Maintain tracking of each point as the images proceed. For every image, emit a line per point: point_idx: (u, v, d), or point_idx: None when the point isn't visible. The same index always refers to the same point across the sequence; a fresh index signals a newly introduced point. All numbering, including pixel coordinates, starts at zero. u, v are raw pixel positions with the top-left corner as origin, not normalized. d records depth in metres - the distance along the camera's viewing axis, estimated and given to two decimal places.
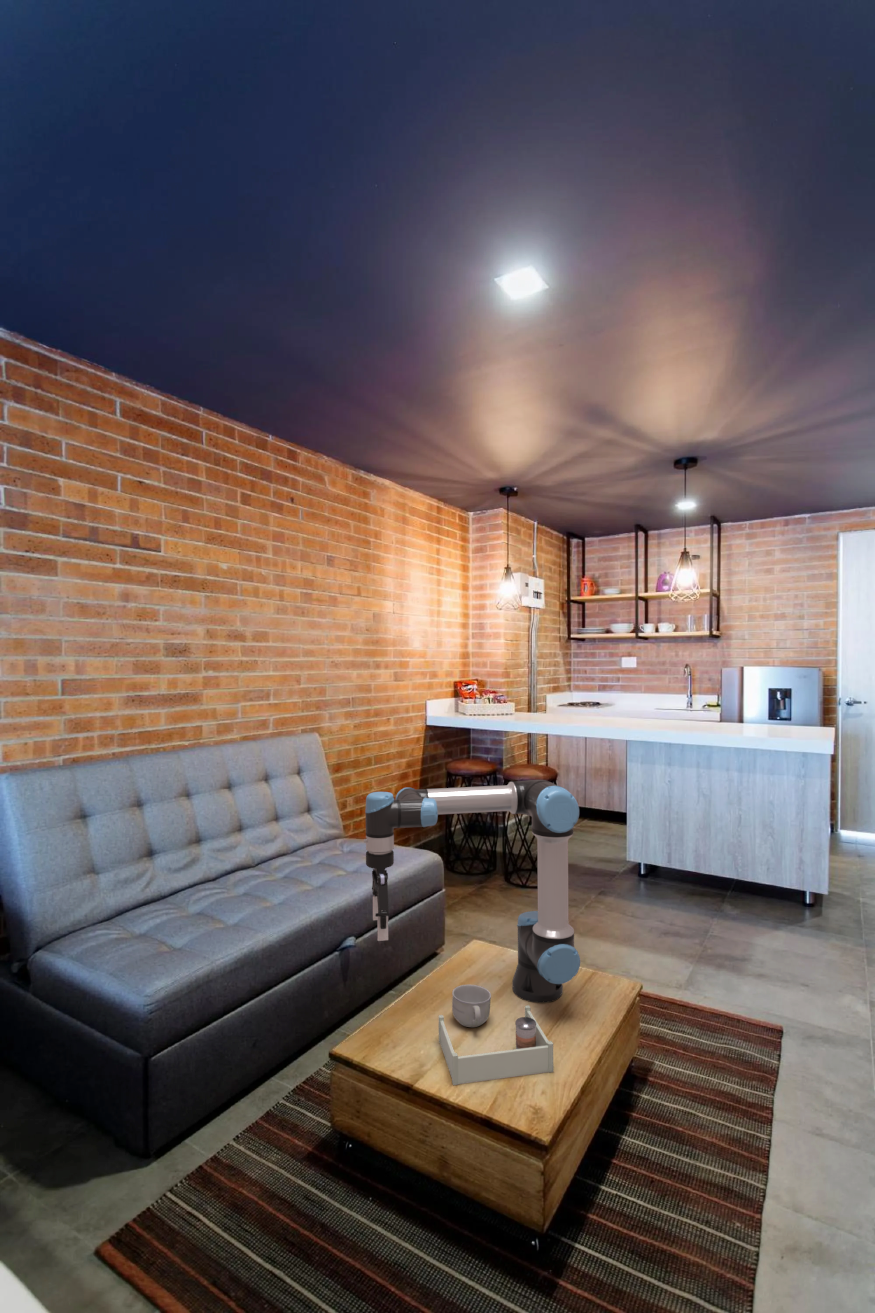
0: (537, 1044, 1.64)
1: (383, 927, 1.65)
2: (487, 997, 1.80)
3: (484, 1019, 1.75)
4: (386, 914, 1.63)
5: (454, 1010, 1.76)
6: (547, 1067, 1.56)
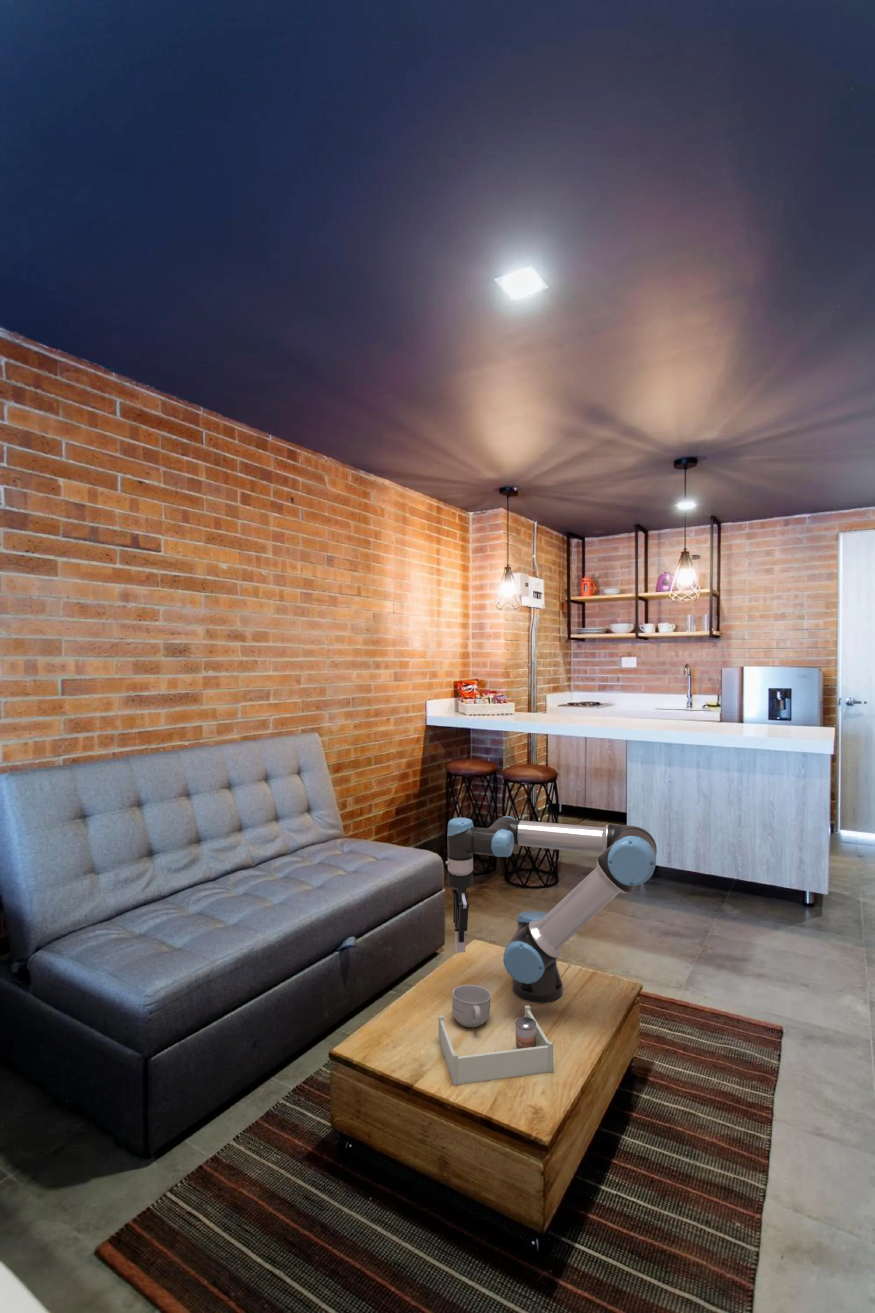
0: (537, 1044, 1.64)
1: (461, 941, 1.88)
2: (487, 997, 1.80)
3: (484, 1019, 1.75)
4: (465, 930, 1.86)
5: (454, 1010, 1.76)
6: (547, 1067, 1.56)
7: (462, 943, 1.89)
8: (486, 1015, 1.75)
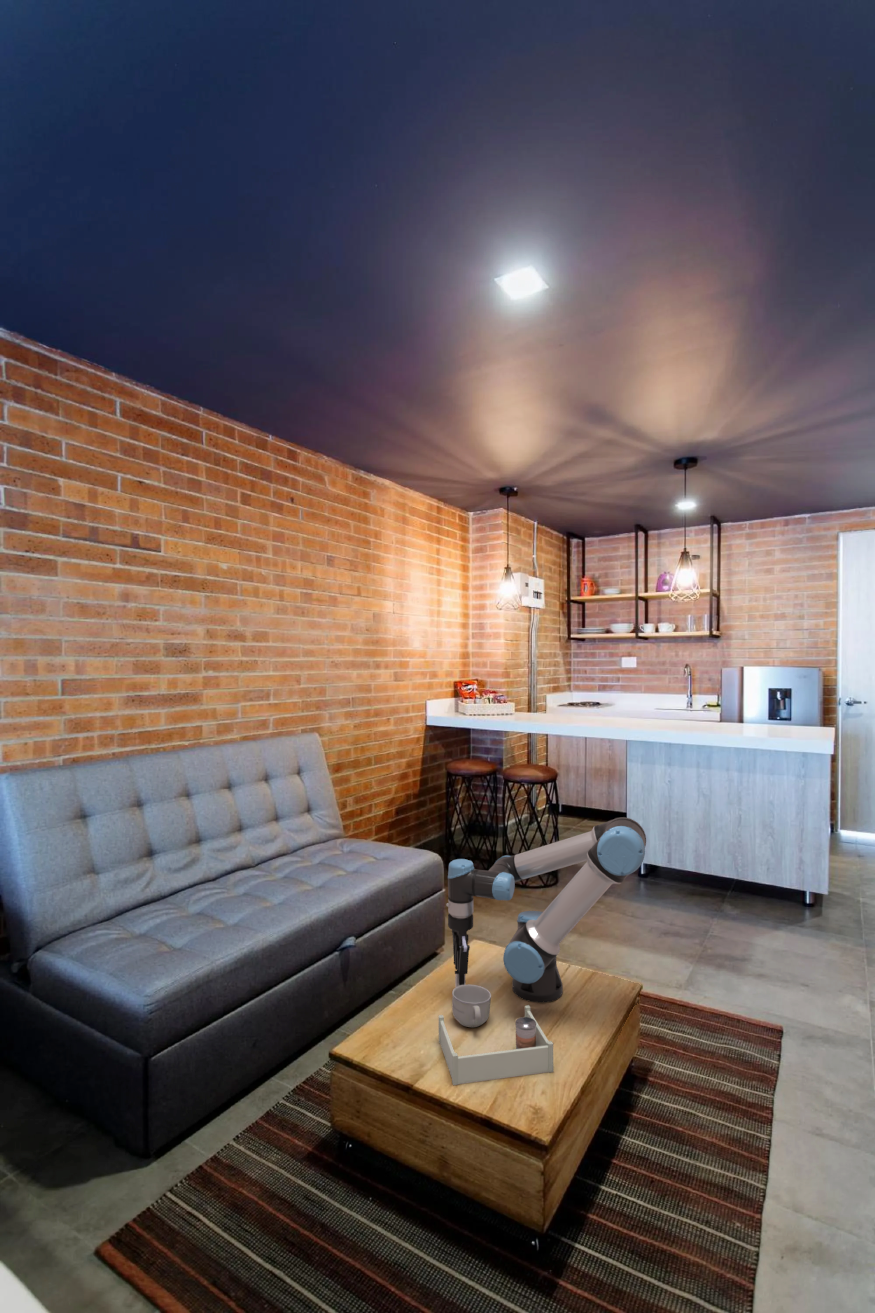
0: (537, 1044, 1.64)
1: (461, 983, 1.88)
2: (487, 997, 1.80)
3: (484, 1019, 1.75)
4: (465, 972, 1.86)
5: (454, 1010, 1.76)
6: (547, 1067, 1.56)
7: None
8: (486, 1015, 1.75)
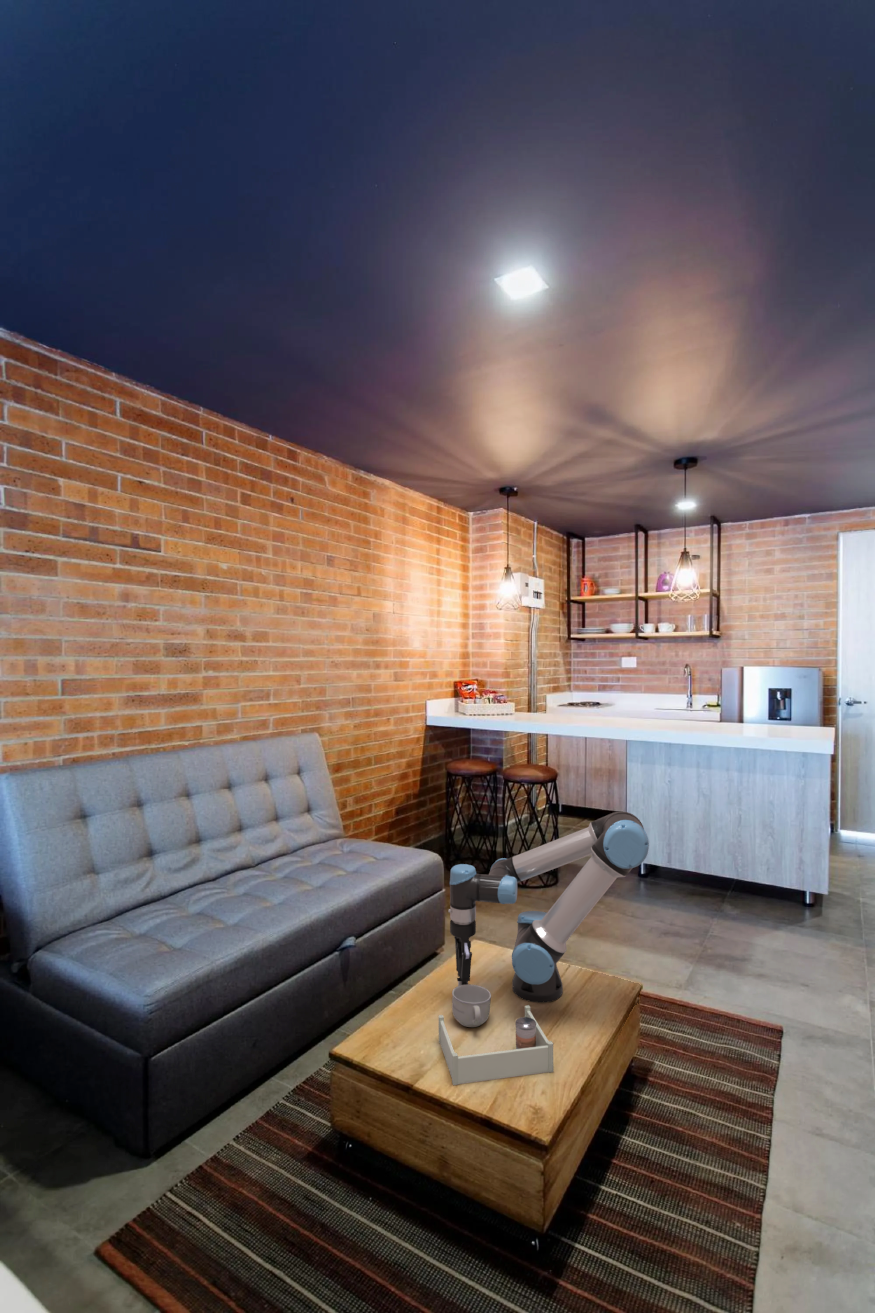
0: (537, 1044, 1.64)
1: None
2: (487, 997, 1.80)
3: (484, 1019, 1.75)
4: (467, 980, 1.83)
5: (454, 1010, 1.76)
6: (547, 1067, 1.56)
7: None
8: (486, 1015, 1.75)
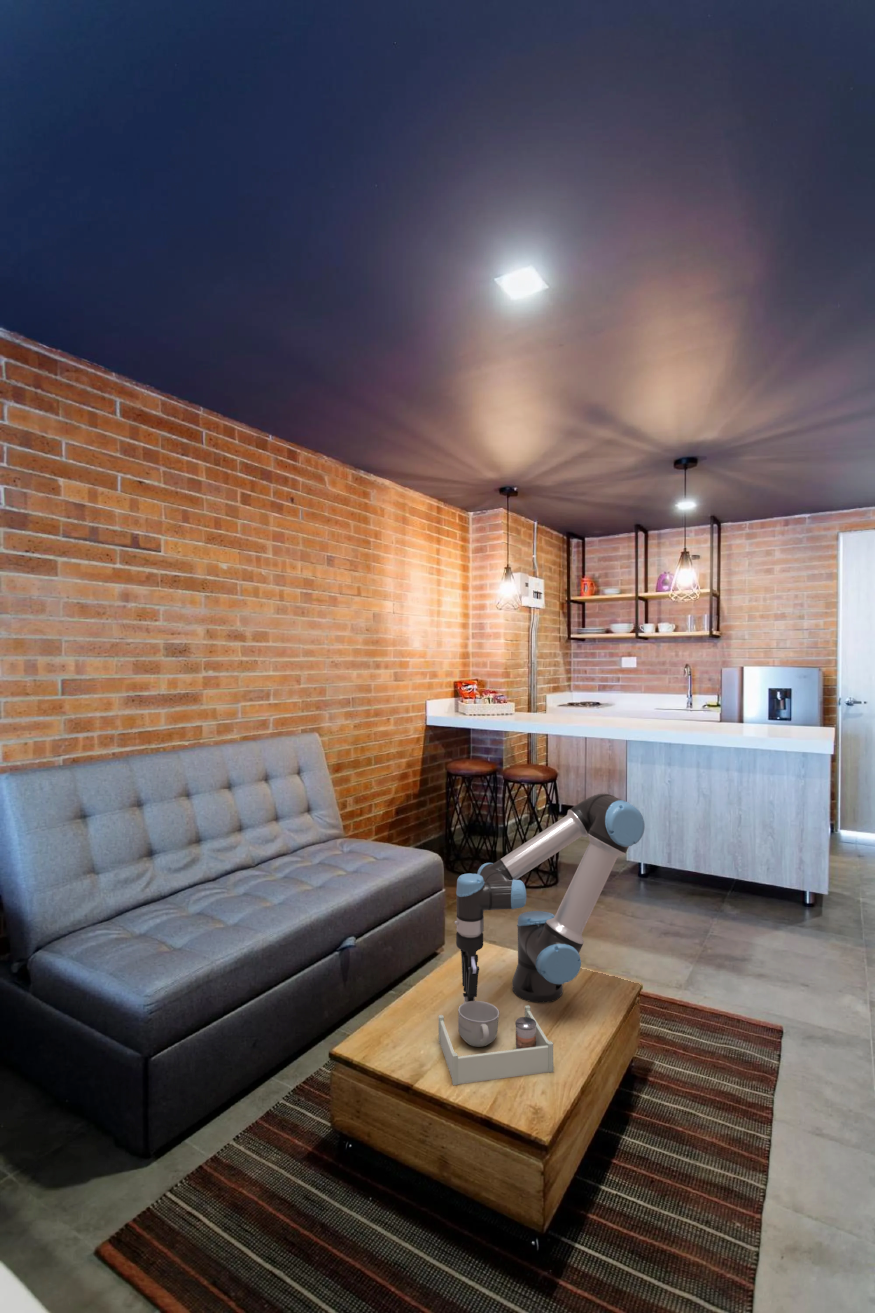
0: (537, 1044, 1.64)
1: None
2: (495, 1014, 1.71)
3: (492, 1038, 1.66)
4: (474, 995, 1.74)
5: (460, 1029, 1.67)
6: (547, 1067, 1.56)
7: None
8: (494, 1034, 1.66)
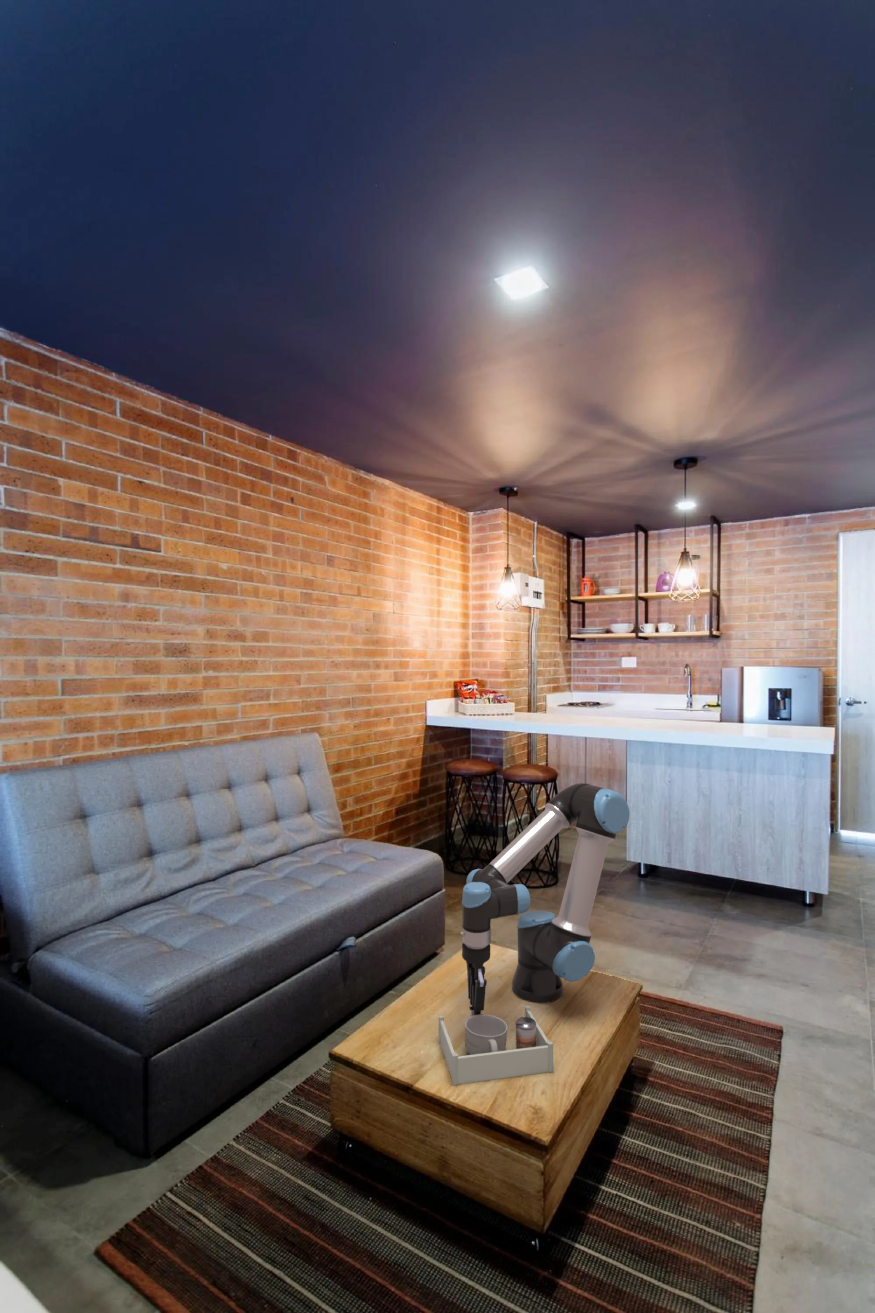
0: (537, 1044, 1.64)
1: None
2: (503, 1028, 1.64)
3: None
4: (481, 1009, 1.68)
5: (467, 1044, 1.60)
6: (547, 1067, 1.56)
7: None
8: (503, 1049, 1.59)
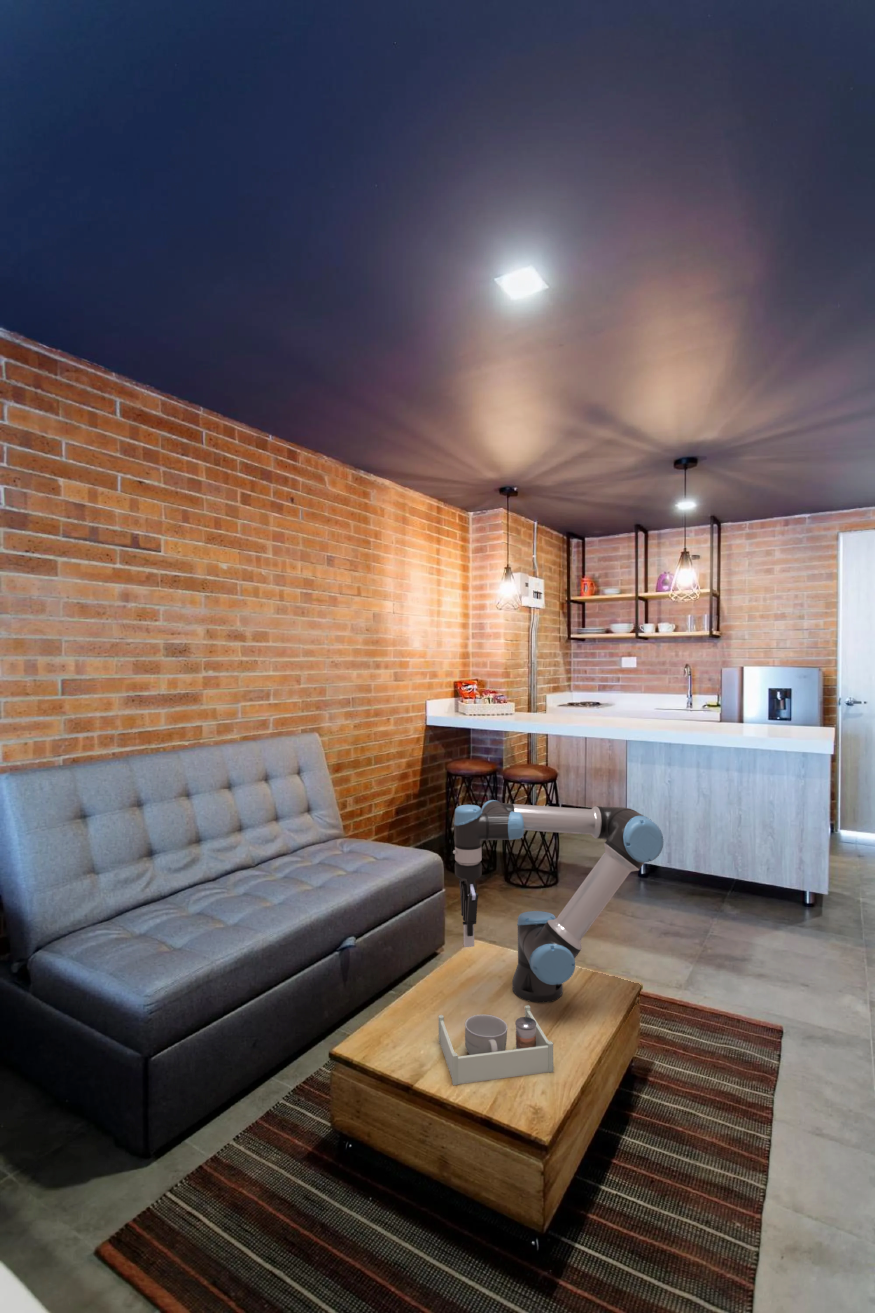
0: (537, 1044, 1.64)
1: (470, 934, 1.78)
2: (503, 1029, 1.64)
3: None
4: (474, 922, 1.77)
5: (467, 1044, 1.60)
6: (547, 1067, 1.56)
7: (471, 937, 1.79)
8: (503, 1049, 1.59)
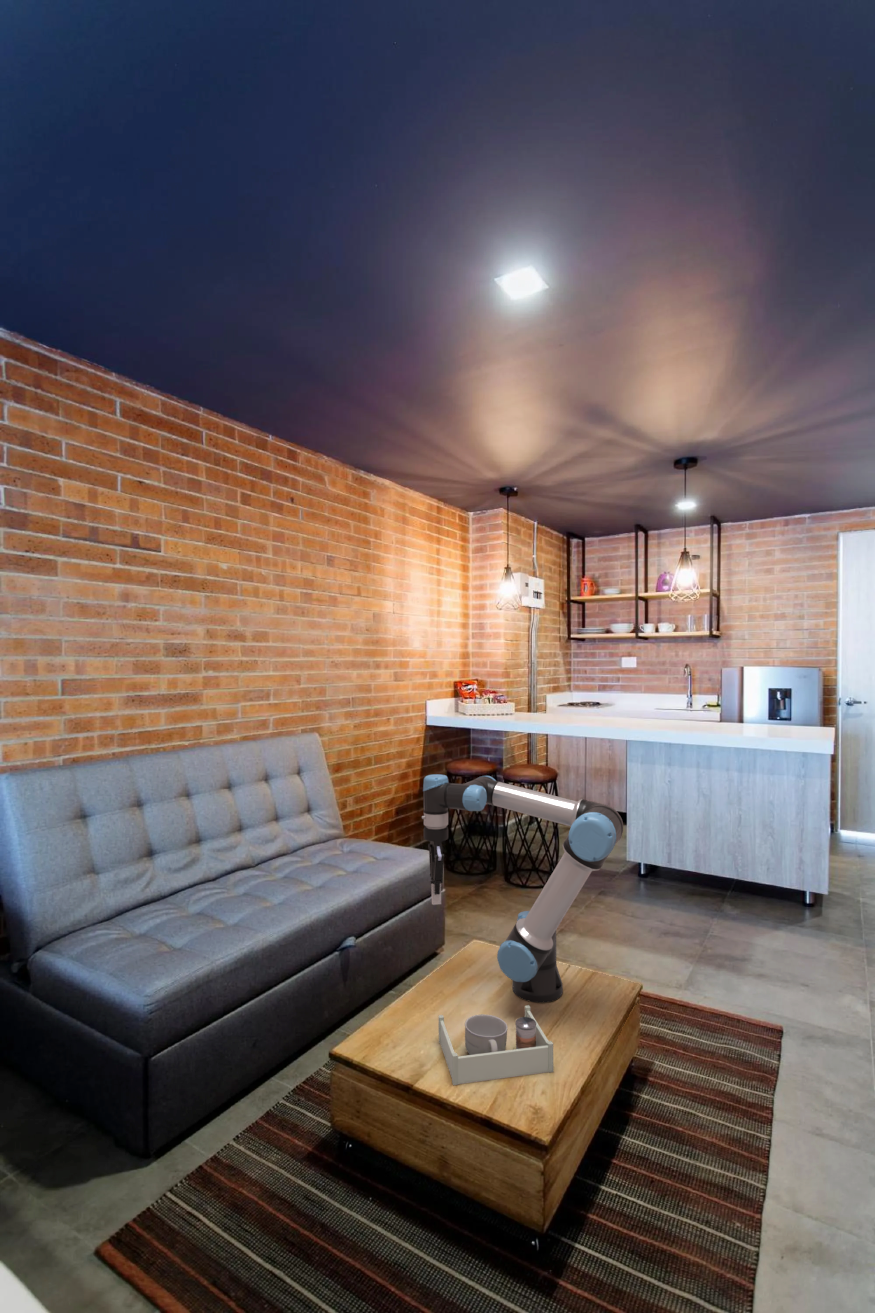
0: (537, 1044, 1.64)
1: (437, 893, 1.94)
2: (503, 1029, 1.64)
3: None
4: (440, 881, 1.92)
5: (467, 1044, 1.60)
6: (547, 1067, 1.56)
7: (438, 895, 1.95)
8: (503, 1049, 1.59)
